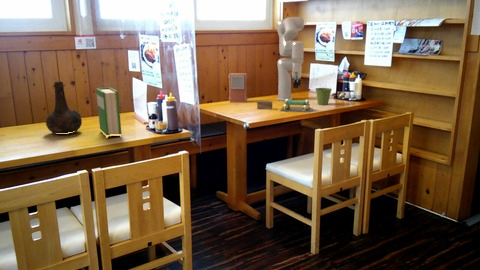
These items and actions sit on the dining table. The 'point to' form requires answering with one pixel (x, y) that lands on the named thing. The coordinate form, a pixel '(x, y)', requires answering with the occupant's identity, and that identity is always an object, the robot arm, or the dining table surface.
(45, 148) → the dining table surface
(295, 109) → the chassis
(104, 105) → the hardback book
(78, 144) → the dining table surface
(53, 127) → the glass bottle
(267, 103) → the walnut stand
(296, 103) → the circuit board
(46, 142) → the dining table surface
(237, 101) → the control panel
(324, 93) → the plant pot
